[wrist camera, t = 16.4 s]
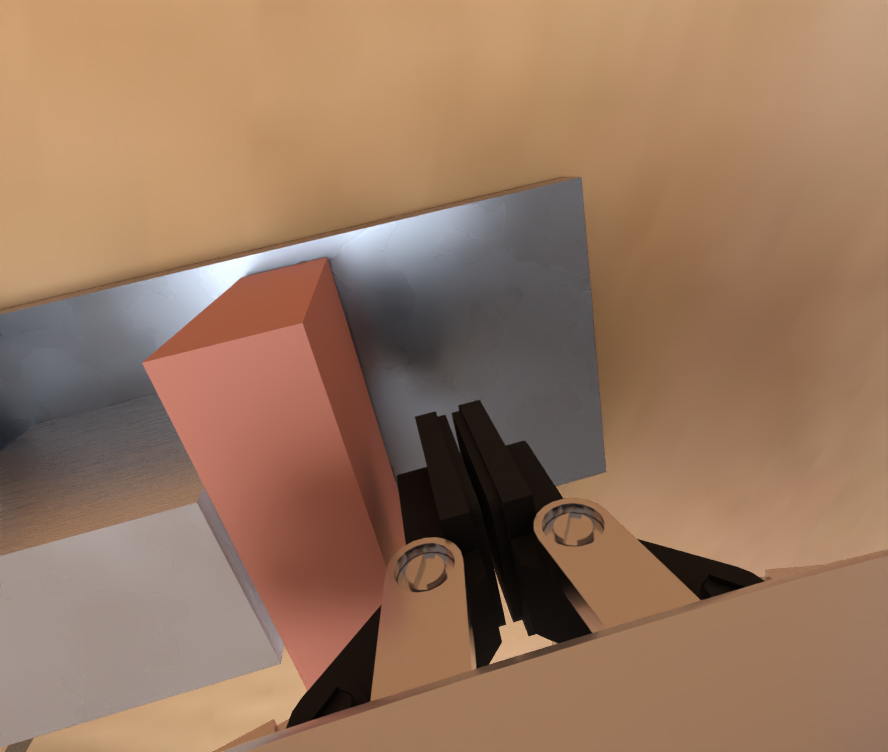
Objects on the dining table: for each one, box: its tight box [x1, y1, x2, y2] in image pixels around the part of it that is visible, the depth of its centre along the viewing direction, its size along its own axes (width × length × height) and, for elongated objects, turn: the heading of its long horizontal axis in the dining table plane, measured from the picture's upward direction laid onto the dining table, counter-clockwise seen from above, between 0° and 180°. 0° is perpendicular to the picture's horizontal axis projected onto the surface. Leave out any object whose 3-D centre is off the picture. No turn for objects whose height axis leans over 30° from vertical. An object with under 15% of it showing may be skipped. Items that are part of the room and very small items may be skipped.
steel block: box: [0, 393, 284, 748], centre depth 13 cm, size 4×7×7 cm, turn 103°
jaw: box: [142, 257, 406, 691], centre depth 13 cm, size 10×3×7 cm, turn 13°
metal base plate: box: [0, 177, 606, 752], centre depth 14 cm, size 11×22×8 cm, turn 103°
